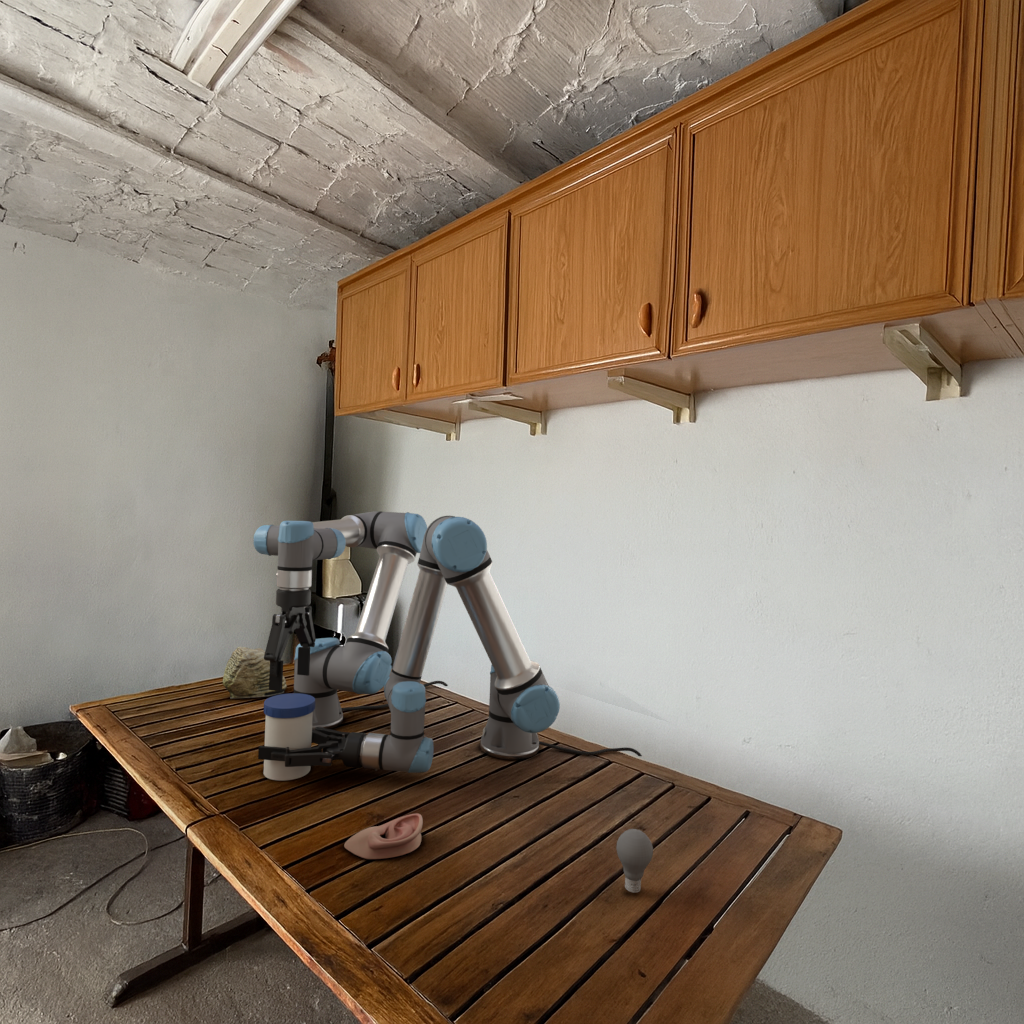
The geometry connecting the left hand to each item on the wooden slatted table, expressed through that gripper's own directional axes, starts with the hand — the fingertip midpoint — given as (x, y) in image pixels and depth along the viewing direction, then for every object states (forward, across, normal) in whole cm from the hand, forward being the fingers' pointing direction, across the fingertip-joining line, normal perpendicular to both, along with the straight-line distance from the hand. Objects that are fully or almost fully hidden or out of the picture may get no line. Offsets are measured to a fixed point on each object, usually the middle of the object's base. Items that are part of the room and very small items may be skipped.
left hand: (289, 682), depth 145 cm
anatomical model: (+21, +24, +32) cm, 45 cm away
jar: (+21, 0, 0) cm, 21 cm away
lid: (+5, 0, 0) cm, 5 cm away
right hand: (+14, 0, -4) cm, 15 cm away
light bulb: (+21, +29, +77) cm, 85 cm away
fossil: (+20, -48, -36) cm, 64 cm away
